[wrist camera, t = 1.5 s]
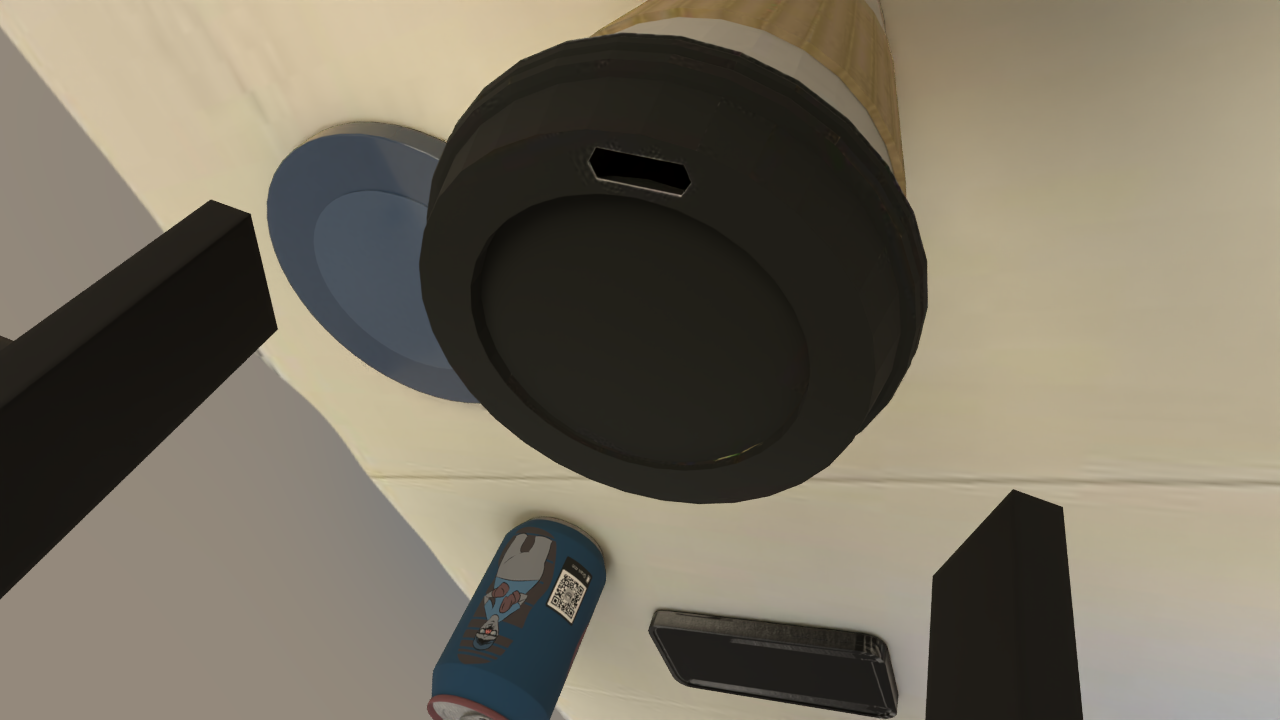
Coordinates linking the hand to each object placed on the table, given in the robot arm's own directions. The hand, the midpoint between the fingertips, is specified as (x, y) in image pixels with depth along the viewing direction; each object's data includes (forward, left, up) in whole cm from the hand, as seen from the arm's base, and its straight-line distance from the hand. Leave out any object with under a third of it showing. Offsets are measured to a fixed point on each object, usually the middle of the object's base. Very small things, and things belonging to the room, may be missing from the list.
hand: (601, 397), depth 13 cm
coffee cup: (0, 0, -16) cm, 16 cm away
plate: (+15, -13, -16) cm, 25 cm away
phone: (+37, +11, -16) cm, 42 cm away
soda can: (+34, -4, -16) cm, 38 cm away
